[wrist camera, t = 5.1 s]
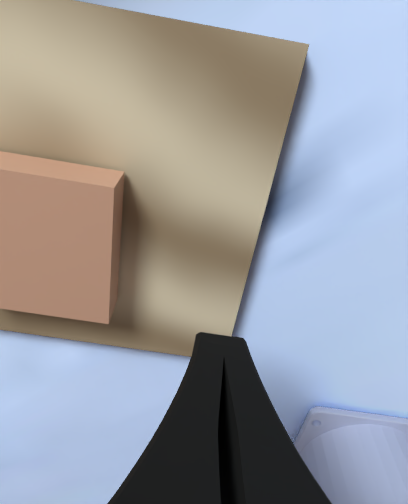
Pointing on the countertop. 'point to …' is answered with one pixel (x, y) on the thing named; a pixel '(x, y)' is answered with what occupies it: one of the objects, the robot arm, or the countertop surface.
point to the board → (153, 152)
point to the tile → (59, 237)
